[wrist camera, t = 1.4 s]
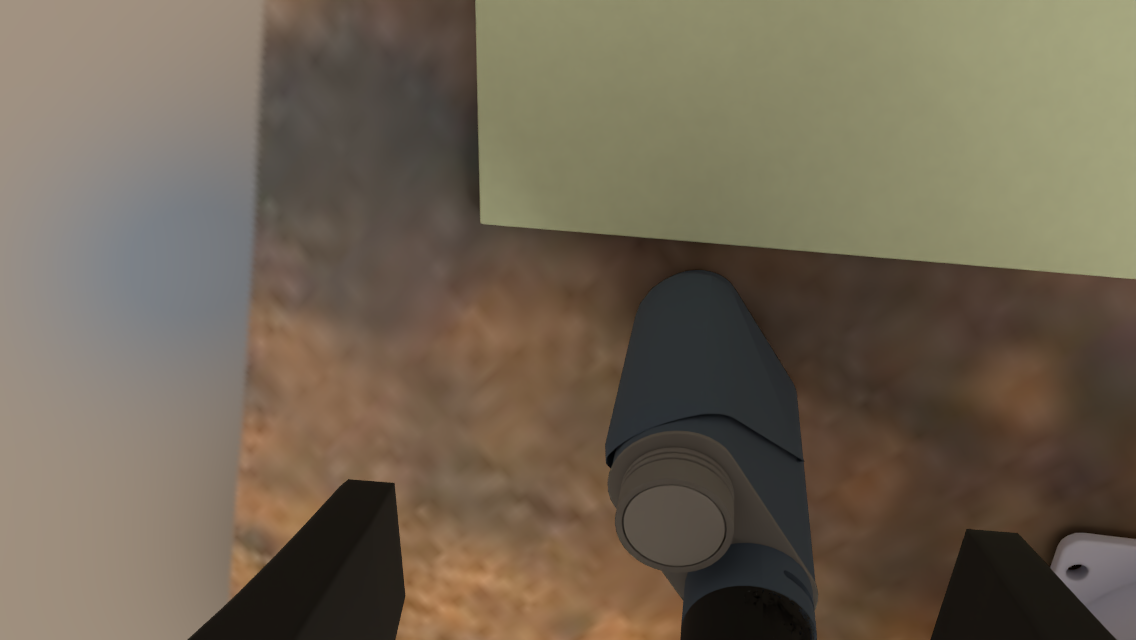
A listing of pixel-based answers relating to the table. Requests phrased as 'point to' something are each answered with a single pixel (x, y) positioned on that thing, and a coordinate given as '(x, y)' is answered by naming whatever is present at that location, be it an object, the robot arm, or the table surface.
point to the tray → (819, 126)
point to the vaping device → (713, 465)
